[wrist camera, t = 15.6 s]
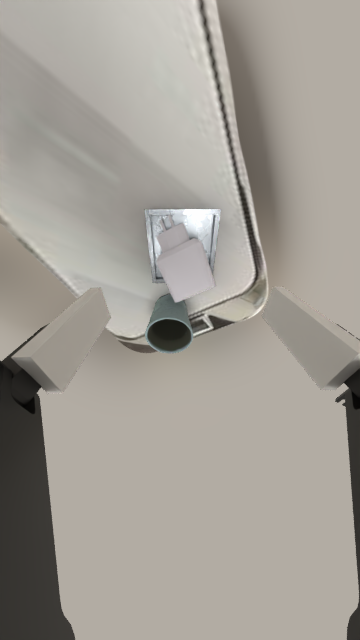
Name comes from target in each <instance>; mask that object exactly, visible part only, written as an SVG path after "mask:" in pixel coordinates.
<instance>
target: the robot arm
mask: <svg viewBox="0 0 360 640" xmlns="http://www.w3.org/2000/svg"><path fill="white" fill-rule="evenodd" d="M262 317H263V319H264V320H265V321H266V322H267V324H268V325H269V326H270V327H271V329H272V330H273V331H274V332H275V334H276V335H277V336H278V337H279V339H280V340H281V341H282V342H283V343H284V345H285V346H286V347H287V349H288V350H289V351H290V352H291V353H292V355H293V356H294V357H295V358H296V360H297V361H298V362H299V363H300V365H301V366H302V367H303V368H304V370H305V371H306V372H307V373H308V375H309V376H310V377H311V378H312V380H313V381H314V382H315V383H316V385H317V386H318V387H319V388H320V390H336V389H337V388H338V387H339V386H340V385H342V384H343V383H345V384H346V385H347V386H348V387H349V389H348V390H346V391H345V392H344V393H343V394H341V395H340V396H339V397H337V398H336V401H335V402H340V401H341V400H342V399H345V403H343V404H342V405H343V406H345V407H346V417H347V431H348V443H349V444H348V445H349V458H350V473H351V487H352V499H353V500H352V501H353V514H354V528H355V542H356V556H357V569H358V582H359V583H358V584H359V603H358V608H357V609H356V610H355V611H354V613H353V614H352V615H351V617H350V619H349V623H348V627H347V628H348V629H347V640H360V340H359V339H358V338H355V337H354V336H353V335H352V334H351V333H349V332H347V331H346V330H345V329H344V328H342V327H341V326H339V325H338V324H336V323H334V322H333V321H331V320H330V319H328V318H327V317H325V316H324V315H323V314H321V313H320V312H318V311H317V310H316V309H314V308H313V307H311V306H310V305H308V304H307V303H305V302H304V301H303V300H301V299H300V298H298V297H297V296H296V295H294V294H293V293H292V292H290V291H289V290H287V289H286V288H284V287H273V289H272V291H271V294H270V296H269V299H268V301H267V304H266V306H265V309H264V312H263V314H262ZM110 318H111V316H110V313H109V310H108V307H107V305H106V302H105V299H104V296H103V293H102V290H101V288H90V289H89V290H88V291H87V292H85V293H84V294H83V295H82V296H81V297H80V298H78V299H77V300H76V301H75V302H74V303H73V304H72V305H70V306H69V307H68V308H67V309H66V310H65V311H64V312H63V313H61V314H60V315H59V316H58V317H57V318H56V319H54V320H53V321H52V322H51V323H49V324H48V325H46V326H44V327H42V328H40V329H39V330H38V331H37V332H36V333H35V334H34V335H33V336H31V337H30V338H29V339H28V340H27V341H25V342H24V343H23V344H22V345H20V346H19V347H18V348H17V349H16V350H15V351H13V352H12V353H11V354H10V355H9V356H7V357H6V358H5V359H4V360H3V361H2V362H1V361H0V640H75V636H74V633H73V630H72V627H71V624H70V623H69V622H68V620H67V619H66V618H65V616H64V614H63V612H62V609H61V602H60V595H59V584H58V575H57V565H56V555H55V545H54V535H53V525H52V515H51V505H50V495H49V485H48V475H47V467H46V456H45V446H44V437H43V426H42V417H41V406H40V398H39V396H38V394H37V392H38V390H39V389H40V388H41V387H42V388H43V389H44V390H45V391H46V392H47V393H63V392H64V391H65V389H66V388H67V386H68V385H69V383H70V381H71V380H72V378H73V377H74V375H75V373H76V372H77V370H78V369H79V367H80V365H81V364H82V362H83V361H84V359H85V358H86V356H87V354H88V353H89V351H90V350H91V348H92V347H93V345H94V343H95V342H96V340H97V339H98V337H99V335H100V334H101V332H102V331H103V329H104V328H105V326H106V325H107V323H108V321H109V320H110Z"/></svg>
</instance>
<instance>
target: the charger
mask: <svg viewBox="0 0 360 640" xmlns="http://www.w3.org/2000/svg"><path fill="white" fill-rule="evenodd" d="M168 219H169V221H170V224H171V226H172V228H170V229H169V230H167V231H166V229H165V226H164V224H163V221H162V220H160V221H159V222H160V224H161V227H162V229H163V231H164V232H163V233H161V234H160V235H158V236H157V237H156V238H157V240H158V243H159V245H160V247H161V250H162V252H163V253H162V254H160V255H159V256H158V259H157V262H156V263H157V265H158V267H159V269H160V272H161V274H162V276H163V278H164V280H165V282H166V285H167V287H168V289H169V291H170V293H171V295H172V298H173V300H174V302H175V303H176V302H179V301H182V300H185V299H187V298H189V297H192V296H194V295H197V294H199V293H201V292H204V291H206V290H209V289H211V288H213V287H215V286H216V284H215V281H214V278H213V275H212V272H211V269H210V266H209V263H208V260H207V257H206V254H205V251H204V248H203V245H202V242H201V241H200V240H198V239H195V238H193V239H191V240H190V239H189V237H188V234H187V231H186V228H185V226H184V223H182V224H179V225H177V226H174V224H173V221H172V218H171V216H170V215H168Z"/></svg>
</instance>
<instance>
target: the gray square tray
mask: <svg viewBox="0 0 360 640" xmlns="http://www.w3.org/2000/svg"><path fill="white" fill-rule="evenodd" d="M144 210H145V219H146V228H147V237H148V245H149V254H150V263H151V272H152V281H153V283H166V282H165V280H164V278H163V276H162V274H161V272H160V269H159V267H158V265H157V263H156V262H157V259H158V256H159V255H160V254H162V253H163V252H162V250H161V247H160V245H159V243H158V240H157V238H156V237H157V236H158V235H160V234H161V233H163V232H164V231H163V229H162V227H161V224H160V222H159V221H160V220H162V221H163V224H164V226H165V229H166V231H167V230H169V229H170V228H172V226H171V224H170V221H169V219H168V215H170V216H171V218H172V221H173V224H174V226H177V225H179V224H182V223H184V226H185V228H186V231H187V234H188V237H189V239H190V240H191V239H193V238H195V239H198V240H200V241H201V242H202V245H203V248H204V251H205V254H206V257H207V260H208V263H209V266H210V269H211V272H212V275H213V268H214V260H215V252H216V244H217V237H218V229H219V221H220V213H221V209H144Z"/></svg>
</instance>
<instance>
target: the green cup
mask: <svg viewBox="0 0 360 640" xmlns="http://www.w3.org/2000/svg"><path fill="white" fill-rule="evenodd" d="M145 337H146V340H147V342H148V344H149V345H150V346H151V347H152V348H154V349H155V350H157V351H159V352H162V353H177V352H180V351H183V350H185V349H186V348H187V347H188V346H189V345H190V344H191V342H192V340H193V332H192V328H191V325H190V321H189V318H188V313H187V308H186V305H185V303H184V301H183V300H182V301H179V302H176V303H175V302H174V300H173V298H172V295H165V296H163V297H161V298H159V299H158V301H157V302H156V304H155V307H154V311H153V313H152V316H151V318H150V322H149V324H148V326H147V329H146V332H145Z"/></svg>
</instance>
